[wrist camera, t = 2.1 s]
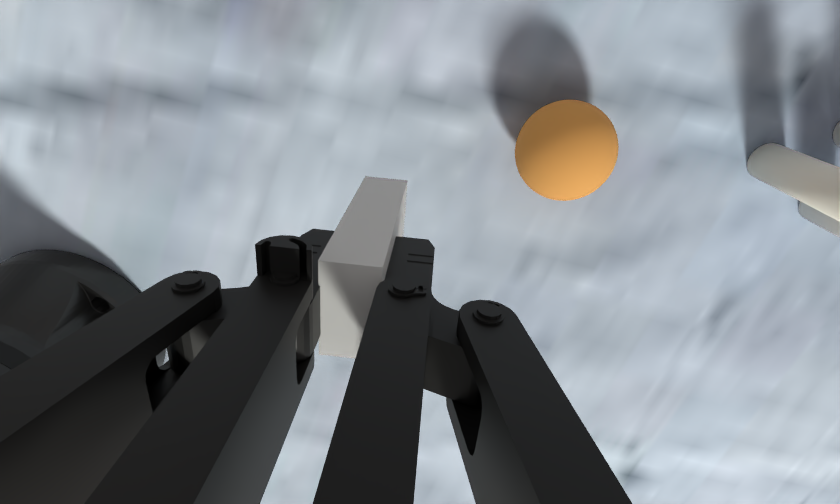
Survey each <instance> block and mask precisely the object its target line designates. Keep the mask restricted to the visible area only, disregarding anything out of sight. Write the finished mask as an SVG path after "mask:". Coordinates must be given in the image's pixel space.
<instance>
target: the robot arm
mask: <svg viewBox="0 0 840 504" xmlns="http://www.w3.org/2000/svg"><path fill="white" fill-rule="evenodd" d="M406 194H407V181H406V180H396V179H387V178H377V177H367V176H365V178H364V180H363V181H362V183H361V185H360V187H359V189H358V190H357V192H356V194H355V196H354V197H353V199H352V201H351V203H350V205H349V206H348V208H347V210H346V212H345V213H344V215H343V217H342V219H341V221H340V222H339V224H338V226H337V228H336V229H335V231H329V230H320V229H312V230H310V231H308V232H306V233H305V234H303V235H301V237H296V236H283V235H281V236H274V237H269V238H266V239H263V240H261V241H259V242H258V243H256V244H255V249H256V262H257V277H256V278H255V279H254V281H253V282H252V283H251V285H250V286H249V287H242V288H228V289H221V284H220V280H219V278H218V277H217V276H216V275H214V274H211V273H209V272H202V271H185V272H183V273H178V274H174V275H172V276H170V277H168V278H165V279H163V280H162V281H160V282H158V283H157V284H155V285H153V286H152V287H150V288H148V289H147V290H145V291H143V292H141V293H139V292H138V291H137V290H136V289H135V288H134V287H133V286H132V285H131V284H130V283H128V282H127V281H126V280H125V279H124V278H122V277H121V276H119V275H118V274H117V273H115V272H114V271H112V270H110V269H109V268H107V267H105V266H103V265H101V264H99V263H97V262H95V261H93V260H91V259H88V258H85V257H82V256H79V255H76V254H72V253H68V252H63V251H56V250H35V251H29V252H25V253H22V254H18V255H16V256H14V257H12V258H10V259H8V260H6V261H5V262H3V263H1V264H0V504H260V502H261V499H262V497H263V494H264V492H265V489H266V487H267V484H268V481H269V479H270V476H271V474H272V471H273V469H274V466H275V464H276V461H277V459H278V456H279V454H280V451H281V449H282V446H283V444H284V441H285V439H286V436H287V434H288V431H289V429H290V426H291V424H292V421H293V418H294V416H295V413H296V411H297V408H298V406H299V403H300V401H301V398H302V396H303V393H304V391H305V388H306V386H307V383H308V381H309V378H310V376H311V373H312V371H313V368H314V349H315V346H316V344H317V342H318V339H319V355H328V356H337V357H346V358H356V359H355V362H354V365H353V369H352V372H351V376H350V379H349V382H348V386H347V389H346V393H345V396H344V399H343V403H342V406H341V410H340V413H339V416H338V420H337V423H336V427H335V430H334V433H333V437H332V440H331V444H330V447H329V450H328V454H327V457H326V461H325V464H324V467H323V471H322V474H321V478H320V481H319V484H318V488H317V491H316V495H315V498H314V501H313V504H413V502H414V490H415V479H416V467H417V455H418V444H419V432H420V421H421V409H422V397H423V389H426V390H428V391H431V392H434V393H436V394H439V395H442V396H444V397H446V402H447V409H448V412H449V415H450V419H451V422H452V425H453V429H454V432H455V435H456V439H457V442H458V445H459V449H460V452H461V455H462V459H463V462H464V465H465V469H466V472H467V475H468V479H469V482H470V485H471V489H472V492H473V495H474V499H475V502H476V504H632V502H631V501H630V499H629V498H628V496H627V494H626V493H625V491H624V489H623V488H622V486H621V485H620V483H619V481H618V480H617V478H616V476H615V475H614V473H613V472H612V470H611V468H610V467H609V465H608V463H607V462H606V460H605V459H604V457H603V455H602V454H601V452H600V450H599V449H598V447H597V446H596V444H595V442H594V441H593V439H592V437H591V436H590V434H589V433H588V431H587V429H586V428H585V426H584V424H583V423H582V421H581V419H580V418H579V416H578V415H577V413H576V411H575V410H574V408H573V406H572V405H571V403H570V402H569V400H568V398H567V397H566V395H565V393H564V392H563V390H562V389H561V387H560V385H559V384H558V382H557V380H556V379H555V377H554V376H553V374H552V372H551V371H550V369H549V367H548V366H547V364H546V363H545V361H544V359H543V358H542V356H541V354H540V353H539V351H538V350H537V348H536V346H535V345H534V343H533V341H532V340H531V338H530V337H529V335H528V333H527V332H526V330H525V328H524V327H523V325H522V324H521V322H520V320H519V319H518V317H517V315H516V314H515V313H514V312H513V311H512V310H511V309H510V308H508V307H506V306H504V305H502V304H500V303H498V302H494V301H490V300H476V301H470V302H468V303H466V304H464V305H463V306H462V307H461V309H460V310H459V311H457V310H454V309H451V308H449V307H446V306H444V305H442V304H441V303H439V302H438V301H437V300H436V299H435V298H434V297H433V295H432V292H431V286H432V273H433V261H434V249H435V248H434V246H433V245H432V244H431V242H430V241H429V240H426V239H417V238H407V237H403V233H404V220H405V207H406ZM166 348H167V351H168V357H169V361H167V362H166V363H165V364H164V365H163V363H164V359H165V350H166Z"/></svg>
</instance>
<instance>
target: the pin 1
mask: <svg viewBox="0 0 840 504" xmlns="http://www.w3.org/2000/svg"><path fill="white" fill-rule="evenodd" d="M798 210H799V213H800V215H801V216H802V217H803V218H805V219H807V220H808V221H810V222H812V223H814V224H816V225H817V226H819V227H821V228H823V229H825V230H826V231H828V232H830V233H832V234H833V235H835V236H837V237H839V238H840V222H839V221H837V220H835V219H834V218H832V217H830V216H828V215H826V214H824V213H822V212H820V211H818V210H816V209H814V208H812V207H810V206H808V205H807V204H805V203H803V202H801V201H800V203H799V207H798Z"/></svg>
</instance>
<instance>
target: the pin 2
mask: <svg viewBox="0 0 840 504" xmlns="http://www.w3.org/2000/svg"><path fill="white" fill-rule="evenodd" d="M833 141H834V143H835V144H836V145H837V146H838V147H840V121H839V122H838V123H837V125H836V127H835V129H834V131H833Z"/></svg>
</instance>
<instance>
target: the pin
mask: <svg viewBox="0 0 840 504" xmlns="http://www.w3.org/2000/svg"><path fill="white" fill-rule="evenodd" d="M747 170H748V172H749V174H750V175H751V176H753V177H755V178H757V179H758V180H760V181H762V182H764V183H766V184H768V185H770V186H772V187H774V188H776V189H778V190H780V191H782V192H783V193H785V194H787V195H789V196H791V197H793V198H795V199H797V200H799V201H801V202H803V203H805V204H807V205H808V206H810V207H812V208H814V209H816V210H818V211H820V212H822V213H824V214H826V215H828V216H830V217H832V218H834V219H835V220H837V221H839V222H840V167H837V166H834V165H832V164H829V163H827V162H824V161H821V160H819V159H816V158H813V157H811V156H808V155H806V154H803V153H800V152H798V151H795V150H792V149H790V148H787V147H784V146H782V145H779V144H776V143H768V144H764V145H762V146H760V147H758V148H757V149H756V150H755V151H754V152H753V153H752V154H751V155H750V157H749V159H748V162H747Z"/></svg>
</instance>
